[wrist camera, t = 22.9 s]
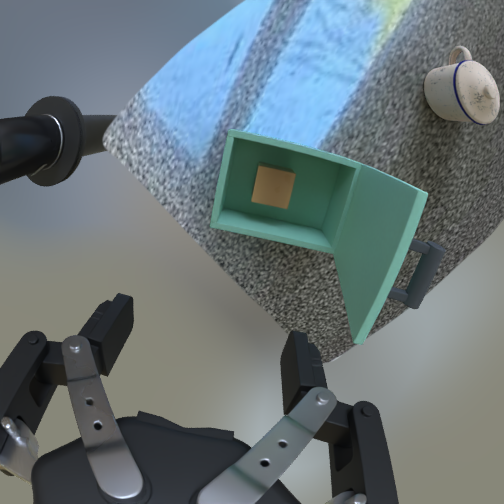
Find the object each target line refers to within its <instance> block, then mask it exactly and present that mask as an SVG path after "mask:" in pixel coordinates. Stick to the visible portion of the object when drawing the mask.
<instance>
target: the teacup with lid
mask: <svg viewBox="0 0 504 504" xmlns="http://www.w3.org/2000/svg"><path fill="white" fill-rule="evenodd" d="M461 52H463V53H464V58H465V60H464V61H462V62H460V63H458V64H456V59H457V56H458V55H459V54H460V53H461ZM424 92H425V96H426V99H427V102H428V104H429V106H430V107H431V109H432V110H433V111H434V112H435V113H436V114H437V115H438V116H439V117H441V118H443V119H445V120H451V121H465V122H474V123H476V124H479V125H486V124H489V123H491V122H492V121H493V120H494V119H495V118H496V116H497V114H498V111H499V106H500V98H499V92H498V88H497V85H496V83H495V81H494V79H493V77H492V76H491V74H490V73H489V72H488V70H487V69H486V68H485V67H484V66H482V65H481V64H479V63H477V62H475V61H472V58H471V54H470V52H469V51H468V49H466V48H465V47H463V46H457V47H455V48H454V49H453V50H452V51H451V53H450V56H449V65H448V66H444V67H439V68H435V69H433V70H431V71H430V72H429V73H428V74H427V76H426V78H425V82H424Z"/></svg>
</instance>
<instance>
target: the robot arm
mask: <svg viewBox="0 0 504 504" xmlns="http://www.w3.org/2000/svg"><path fill="white" fill-rule="evenodd" d="M64 141H65V136H64V130H63V126H62V124H61V122H60V121H59V119H58V118H57V117H56V116H54V115H51V114H43V115H35V116H23V117H14V118H4V119H0V185H1V184H3V183H6V182H9V181H11V180H14V179H16V178H19V177H22V176H25V175H28V174H31V173H33V174H32V175H35V174H36V173H37V172H38V171H40V170H45V169H49V168H51V167H52V166H54V165H55V164H56V163H57V162H58V160H59V159H60V157H61V155H62V152H63V148H64ZM34 172H35V173H34ZM32 175H31V176H32ZM133 322H134V315H133V298H132V297H131V296H128V295H124V294H120V293H118V294H117V295H116V297H115V298H114V299H113V301H109V300H107V301H105V302H104V303H102V304H100V305H99V306H98V308H97V309H96V310H95V312H94V313H93V314H92V316H91V317H90V318H89V320H88V321H87V323H86V324H85V325H84V326H83V328H82V329H81V331H80V332H79V334H78V335H73V336H70V337H68V338H66V339H65V340H64V341H63V342H53V341H47V339H46V336H45V335H44V334H43V333H42V332H40V331H30V332H28V333H26V334H25V335H24V336H23V337H22V338H21V340H20V341H19V342H18V344H17V345H16V346H15V348H14V349H13V351H12V352H11V353H10V355H9V356H8V358H7V359H6V361H5V362H4V364H3V365H2V367H1V368H0V470H1V471H2V472H3V473H4V474H6V475H8V476H16V477H18V478H20V479H22V480H23V481H25V482H27V483H29V484H30V485H32V489H33V499H34V502H33V504H301V503H300V502H299V501H298V500H297V499H296V498H295V497H294V495H293V494H292V493H291V492H290V491H289V490H288V489H287V488H286V487H285V486H284V484H283V483H282V482H281V481H280V480H279V479H278V478H279V477H280V476H281V475H282V474H283V473H284V472H285V471H286V469H287V468H288V467H289V466H290V465H291V463H293V461H294V460H295V459H296V458H297V457H298V455H299V454H300V453H301V452H302V451H303V449H304V448H305V447H306V445H307V444H308V443H309V442H310V441H311V439H312V438H314V439H317V440H321V441H324V442H327V443H328V445H329V456H330V469H331V484H332V499H331V500H329V501H328V502H326V503H325V504H399V502H398V497H397V491H396V485H395V480H394V475H393V470H392V465H391V461H390V455H389V451H388V446H387V442H386V438H385V434H384V429H383V426H382V421H381V417H380V414H379V410H378V409H377V407H376V406H375V405H373V404H372V403H370V402H367V401H360V402H357V403H356V404H355V405H354V406H351V405H348V404H345V403H341V402H339V401H337V399H336V397H335V395H334V394H333V393H332V392H331V391H330V390H328V388H327V383H326V378H325V374H324V369H323V367H322V366H323V365H322V361H321V356H320V351H319V350H318V349H317V347H316V346H315V345H314V344H310V343H308V338H307V334H306V333H303V332H297V331H291V332H290V334H289V336H288V339H287V341H286V344H285V347H284V349H283V352H282V355H281V361H280V365H281V379H282V393H283V410H284V415H285V416H284V417H283V418H282V419H281V420H280V421H279V422H278V423H277V424H276V425H275V426H274V427H273V428H272V429H271V430H270V431H269V432H268V433H267V434H266V435H265V436H264V437H263V438H262V439H261V440H260V441H259V442H258V443H256V444H255V445H254V446H253V447H252V448H251V447H250V446H249V445H247V444H246V443H244V442H242V441H240V440H238V439H236V438H234V431H228V430H221V429H215V428H184V427H181V426H179V425H177V424H175V423H173V422H171V421H169V420H167V419H164V418H163V417H160V416H156V415H152V414H149V413H145V412H141V411H139V412H138V415H137V417H135V416H132V417H122V418H118V419H115V417H114V414H113V412H112V410H111V407H110V404H109V401H108V399H107V396H106V393H105V390H104V387H103V385H102V382H101V378H100V375H101V374H102V375H104V376H107V377H108V375H109V373H110V371H111V369H112V367H113V365H114V363H115V361H116V359H117V357H118V355H119V354H120V352H121V350H122V348H123V346H124V344H125V342H126V340H127V338H128V337H129V335H130V333H131V331H132V328H133ZM58 385H64V386H67V387H68V391H69V395H70V399H71V403H72V407H73V411H74V414H75V418H76V421H77V425H78V428H79V431H80V434H81V437H80V438H78V439H76V440H74V441H72V442H70V443H68V444H66V445H64V446H61V447H59V448H57V449H55V450H53V451H51V452H49V453H46V454H44V455H43V456H41V457H40V458H39V459H38V456H37V452H38V441H37V439H36V437H35V436H34V435H35V433H36V430H37V428H38V425H39V423H40V421H41V419H42V416H43V414H44V412H45V410H46V408H47V406H48V404H49V402H50V400H51V398H52V396H53V393H54V392H55V390H56V388H57V386H58ZM286 415H287V416H286Z"/></svg>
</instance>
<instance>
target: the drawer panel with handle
mask: <svg viewBox="0 0 504 504" xmlns="http://www.w3.org/2000/svg"><path fill="white" fill-rule="evenodd" d="M427 197H428V193H426V192H424V191H422V190H420V189H418V188H416V187H414V186H412V185H410V184H408V183H406V182H404V181H401V180H399V179H397V178H395V177H393V176H390V175H388V174H386V173H384V172H381V171H379V170H377V169H374V168H372V167H370V166H367V165H364V164H362V166H361V170H360V173H359V177H358V180H357V184H356V187H355V190H354V194H353V197H352V200H351V203H350V207H349V210H348V213H347V216H346V219H345V222H344V225H343V228H342V231H341V234H340V237H339V240H338V243H337V246H336V249H335V252H334V254H333V256H334V260H335V264H336V268H337V272H338V276H339V280H340V284H341V289H342V293H343V297H344V302H345V306H346V311H347V315H348V320H349V325H350V330H351V334H352V340H353V343H355V344H361V345H362V344H363V342H364V341H365V339H366V337H367V335H368V333H369V331H370V330H371V328H372V326H373V324H374V322H375V320H376V318H377V316H378V314H379V312H380V310H381V308H382V306H383V304H384V302H385V300H386V298H391V299H395V300H399V301H402V302H403V303H404V304H405V305H406V306H408V307H410V308H412V309H418V308H419V306H420V304H421V302H422V300H423V298H424V296H425V294H426V292H427V290H428V288H429V286H430V284H431V282H432V280H433V278H434V276H435V274H436V272H437V269H438V267H439V265H440V263H441V260H442V258H443V256H444V253H445V249H444V248H443V247H442V246H440V245H438V244H436V243H434V242H431V241H428V242H427V243H425V242H422V241H419V240H416V239H414V238H413V236H414V234H415V231H416V228H417V226H418V223H419V220H420V217H421V214H422V212H423V209H424V206H425V203H426V200H427ZM408 249H410V250H413V251H416V252H419V253H422V256H421V258H420V260H419V263H418V265H417V267H416V269H415V272H414V274H413V276H412V278H411V280H410V283H409V285H408V287H407V289H406V290H402V289H398V288H395V287H392V286H393V283H394V281H395V279H396V277H397V275H398V272H399V270H400V268H401V266H402V263H403V261H404V259H405V256H406V254H407V251H408Z"/></svg>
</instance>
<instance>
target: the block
mask: <svg viewBox="0 0 504 504" xmlns="http://www.w3.org/2000/svg"><path fill="white" fill-rule="evenodd" d="M295 177H296V173H295V172H294V171H293V170H292V169H291V168H286V167H282V166H278V165H273V164H268V163H264V162H259V163H258V167H257V172H256V177H255V181H254V186H253V191H252V197H251V202H255V203H260V204H265V205H269V206H274V207H279V208H283V209H288V205H289V201H290V197H291V193H292V189H293V185H294V181H295Z"/></svg>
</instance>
